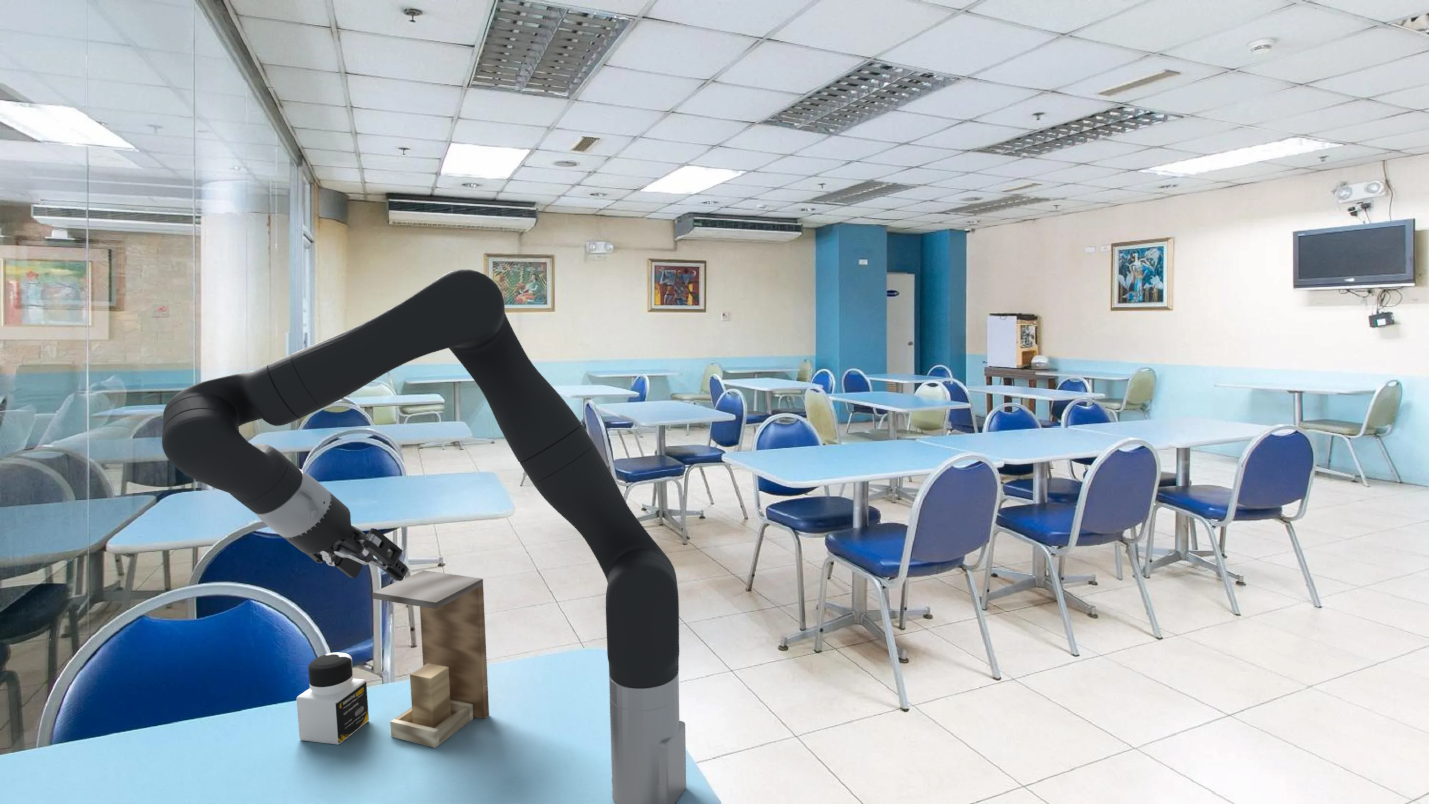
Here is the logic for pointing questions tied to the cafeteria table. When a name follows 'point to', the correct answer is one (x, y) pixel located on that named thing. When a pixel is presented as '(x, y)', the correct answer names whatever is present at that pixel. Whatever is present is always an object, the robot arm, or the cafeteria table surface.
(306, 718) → the medicine bottle
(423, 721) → the peg
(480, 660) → the awning socket
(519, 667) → the cafeteria table surface
